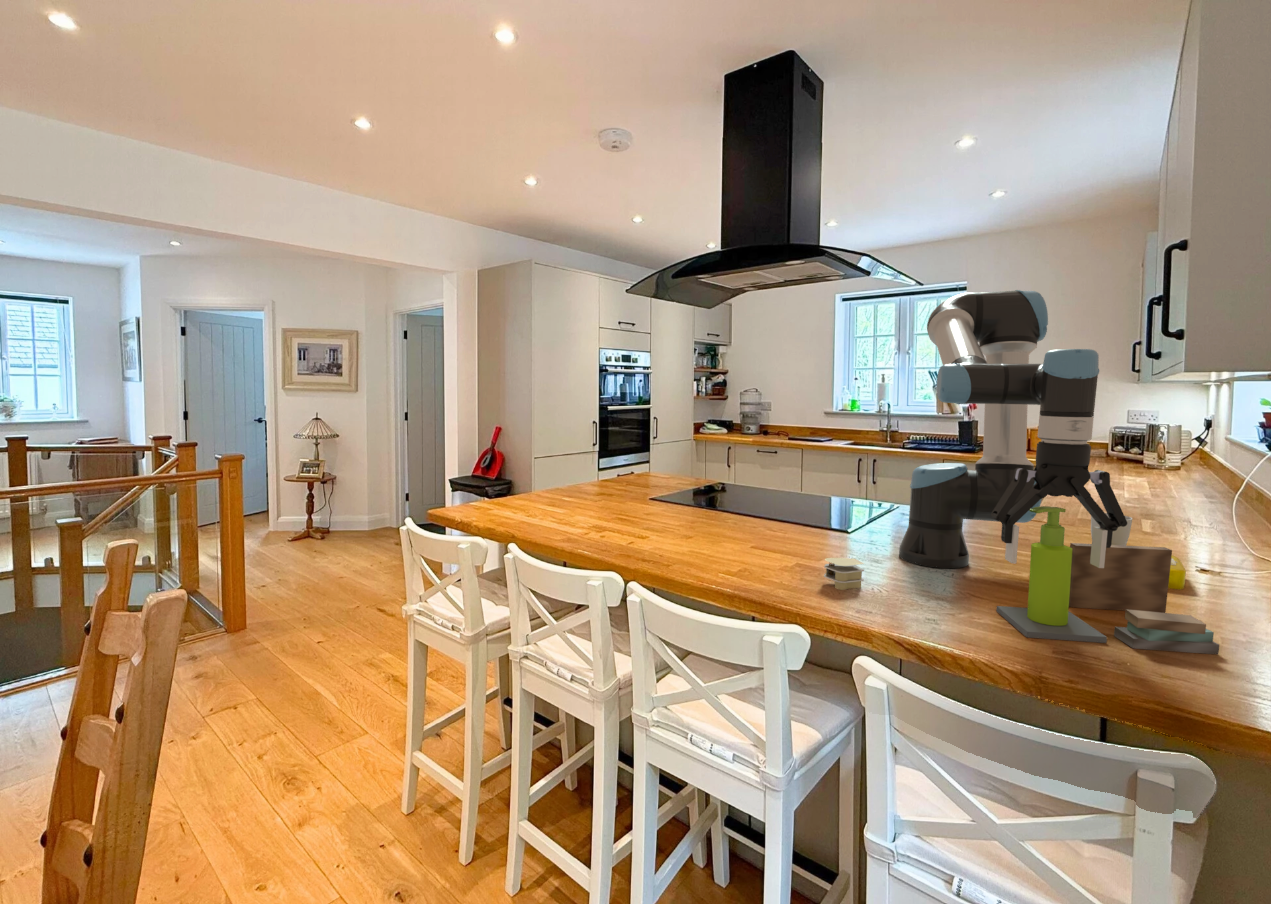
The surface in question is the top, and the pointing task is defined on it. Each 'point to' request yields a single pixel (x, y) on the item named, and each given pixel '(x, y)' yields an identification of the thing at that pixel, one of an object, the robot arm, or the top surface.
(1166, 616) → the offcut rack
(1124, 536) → the cup
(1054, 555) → the soap dispenser
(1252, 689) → the top surface
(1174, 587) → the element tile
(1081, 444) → the robot arm
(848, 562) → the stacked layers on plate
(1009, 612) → the slate mat
